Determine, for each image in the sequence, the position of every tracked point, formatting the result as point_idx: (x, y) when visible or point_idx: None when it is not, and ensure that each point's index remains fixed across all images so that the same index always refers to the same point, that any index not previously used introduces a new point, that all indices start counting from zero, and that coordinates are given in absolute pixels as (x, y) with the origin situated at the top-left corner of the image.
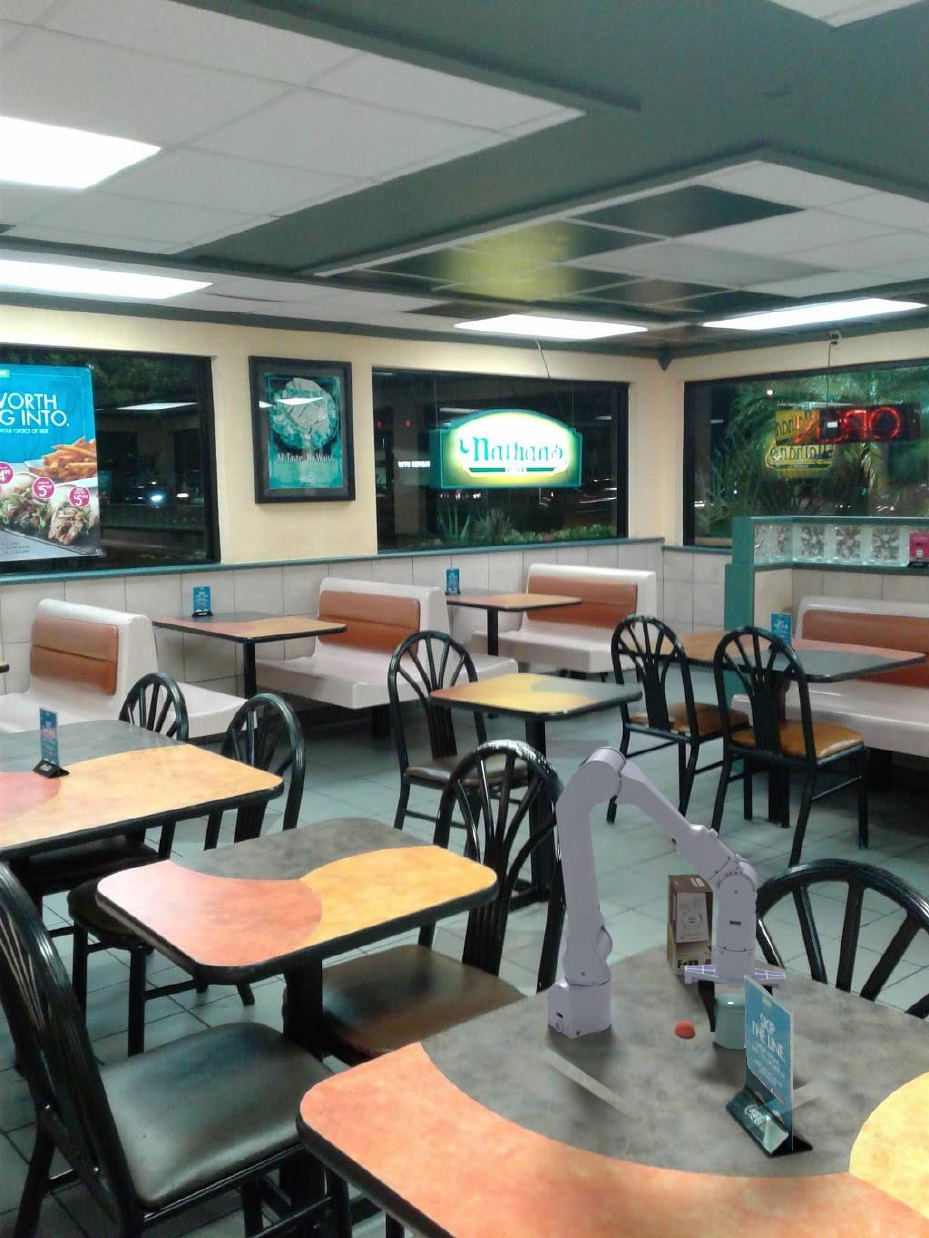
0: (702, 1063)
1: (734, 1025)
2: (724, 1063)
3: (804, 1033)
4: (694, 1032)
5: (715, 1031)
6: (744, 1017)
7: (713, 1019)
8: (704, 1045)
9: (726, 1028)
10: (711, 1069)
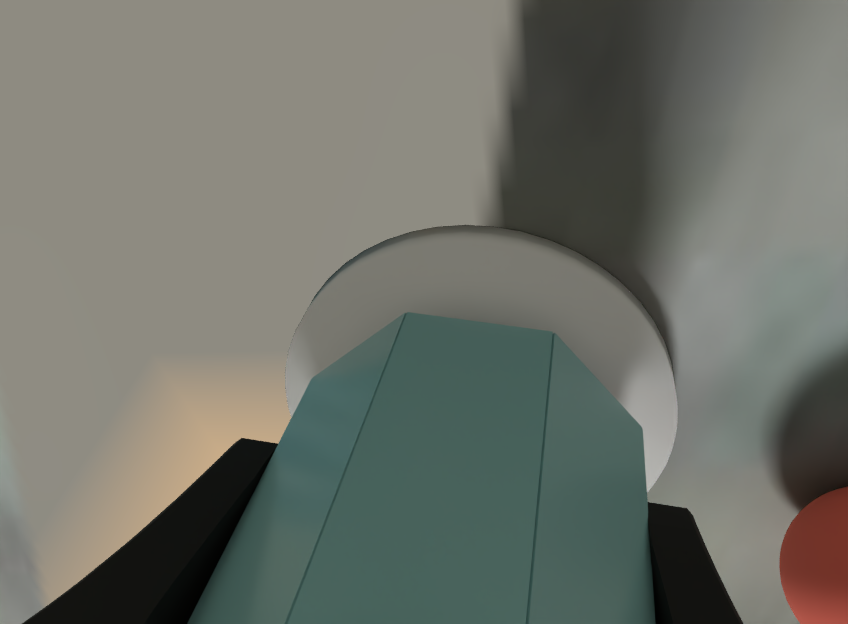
0: (812, 184)
1: (438, 501)
2: (586, 197)
3: (28, 550)
4: (799, 555)
5: (644, 504)
6: (281, 588)
7: (688, 621)
8: (697, 453)
9: (543, 481)
10: (750, 75)
